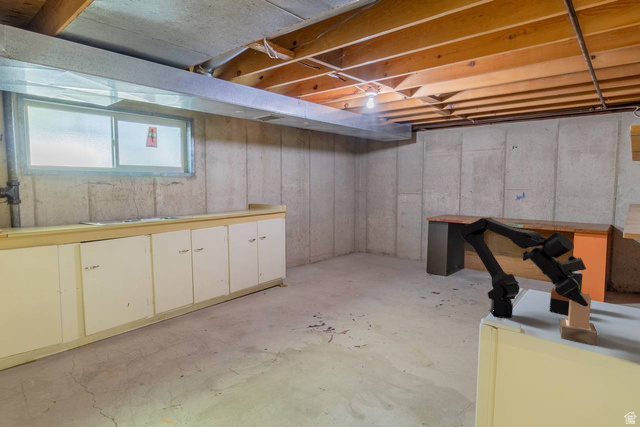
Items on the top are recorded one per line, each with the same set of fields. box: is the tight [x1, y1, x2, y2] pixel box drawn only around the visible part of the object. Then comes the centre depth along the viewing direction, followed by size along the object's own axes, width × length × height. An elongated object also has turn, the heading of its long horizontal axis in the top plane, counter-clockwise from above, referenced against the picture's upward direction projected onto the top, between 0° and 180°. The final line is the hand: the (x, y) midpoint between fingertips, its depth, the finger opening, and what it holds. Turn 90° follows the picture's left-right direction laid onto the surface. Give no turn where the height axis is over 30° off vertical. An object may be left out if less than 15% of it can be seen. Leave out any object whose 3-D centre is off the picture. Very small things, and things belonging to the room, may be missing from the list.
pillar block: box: [567, 292, 592, 329], centre depth 113 cm, size 5×5×10 cm
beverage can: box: [569, 270, 583, 292], centre depth 141 cm, size 6×6×15 cm
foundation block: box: [559, 317, 598, 346], centre depth 114 cm, size 9×9×4 cm
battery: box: [549, 287, 570, 317], centre depth 135 cm, size 4×7×10 cm, turn 47°
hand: (585, 301), depth 112 cm, fingers open, 9 cm apart
